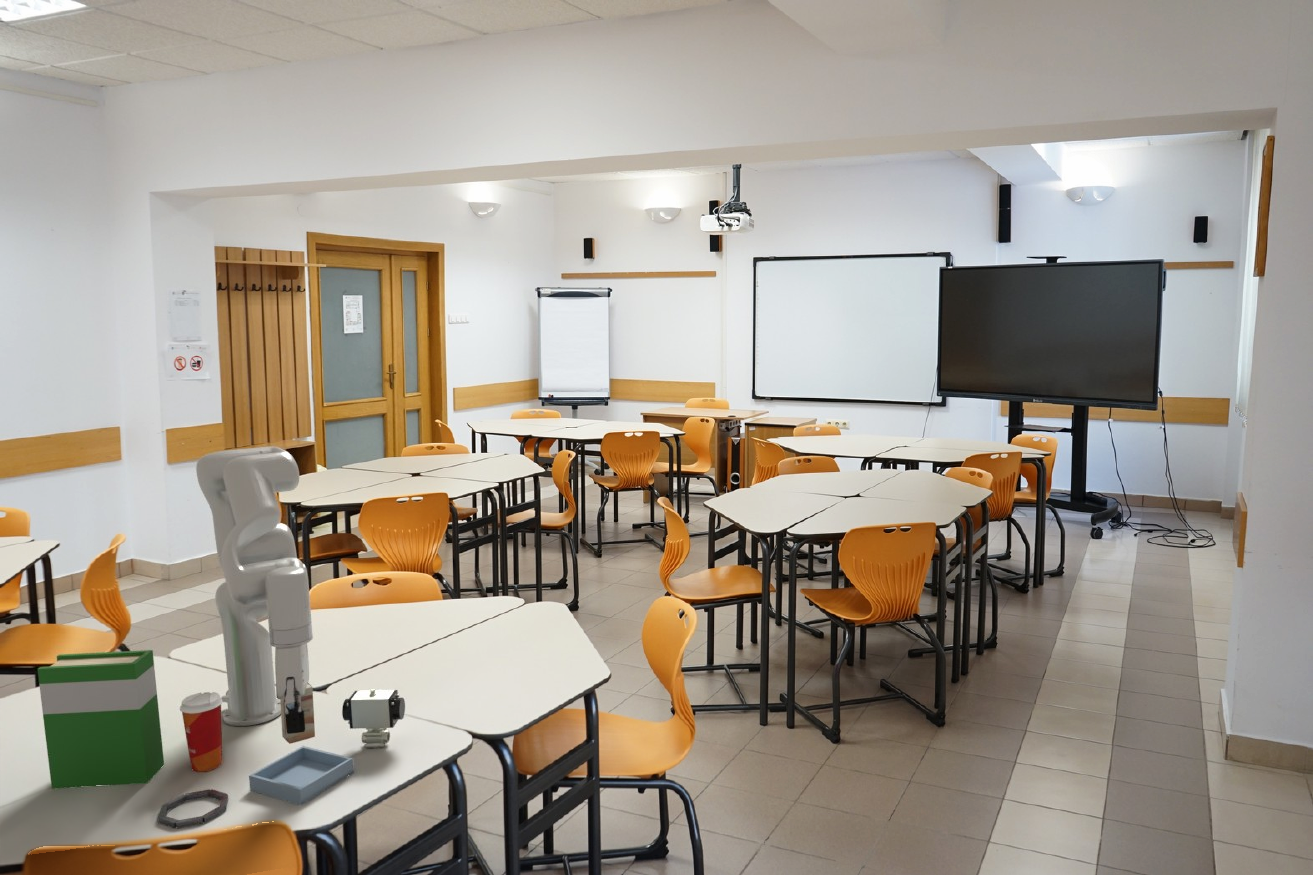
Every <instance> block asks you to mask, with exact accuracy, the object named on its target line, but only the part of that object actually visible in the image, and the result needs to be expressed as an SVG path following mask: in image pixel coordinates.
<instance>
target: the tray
mask: <svg viewBox="0 0 1313 875" xmlns="http://www.w3.org/2000/svg"><path fill="white" fill-rule="evenodd" d="M352 773H353V774H354V773H355V771H354V758H353V757H349V756H345V755H342V754H341V755H340V754H336V753H333V752H330V751H325V750H322V749H318V748H313V747H309V746H305V745H302V746H300V747H299V748H296V749H295V750H293V751H291V752H289V753H288V754H286V755H284V756H282V757H280V758H278V759H277V760H275V761H273V762H271V763H269V764H267V765H265V766H264V767H261V768H260V769H258V770H256V771H255V772H252V773H251V774H249V775H248V779H249V790H250V792H254V793H258V794H262V795H264V796H269V797H272V798H274V799H279V800H281V801H285V802H289V803H292V804H296V805H300V806H302V805H304V804H305V803H308V802H309V801H310V800H312V799H314V798H316V797H317V796H318V795H321V794H322V793H323V792H326V791H327V790H329V789H330V788H332V787H334V786H335V785H336V784H338V783H340V782H341V781H343V780H345V779H346V778H348V777H349V776H348V775H350V776H351V775H352ZM347 776H348V777H347Z"/></svg>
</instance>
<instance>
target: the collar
mask: <svg viewBox="0 0 1313 875" xmlns="http://www.w3.org/2000/svg"><path fill="white" fill-rule="evenodd" d="M204 798H211V799H214V800H218V801H219V802H220V803H219V806H217V807H215V808H213V809H211V810H210V811H208V812H206V813H205V814H203V815H201V816H199V815H198V816H194V817H189V818H182V819H176V818H173V817H170V816H167V815H168V813H169V811H170V810H172V809H174V808H176V807H177V806H179V805H181V804H183V803H185V802H189V801H194V800H199V799H204ZM228 803H229V794H228V793H226V792H222V791H220V790H217V789H210V788H209V789H203V790H197V791H192V792H191V791H190V792H186V793H183V794H180V795H179V796H177V797H175V798H172V799H171V800H170V801H168V802H166V803H164V804H162V805H161V807H160V811H159V814H158V816H157V821H158V822H157V823H158V824H159V825H164V826H165V827H169V828H173V829H181V828H187V827H192V826H199V825H203V824H206V823H208V822H209V821H212V820H213V819H215V818H217V817H218V816H220V815H222V814H224V813H225V812H226V811H227V808H228Z"/></svg>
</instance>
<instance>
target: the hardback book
mask: <svg viewBox="0 0 1313 875" xmlns="http://www.w3.org/2000/svg"><path fill="white" fill-rule="evenodd" d="M154 659H155V658H154V650H152V649H149V650H148V649H147V650H146V649H145V650H129V651H126V650H125V651H109V652H108V651H107V652H105V651H104V652H103V651H102V652H87V653H85V652H84V653H66V654H65V653H63V654H58V655H56V662H54V663H53V664H52V665H50V666H39V667H38V668H37V676H38V683H39V692H40V700H41V709H42V719H43V726H44V734H45V742H46V752H47V761H48V767H49V768H48V769H49V777H50V784H51V789H52V790H53V789H54V790H56V789H55V788H58V789H70V787H75V788H82V787H81V786H93V787H97V786H96V785H110V786H123V785H127V786H128V785H140V784H148V783H149V782H150V781H151V780H152V779H153V778H154V777H155V776H156V775H157V773H158V772H159V771H160V770H161V769H162V768H163V767H164V766H165V760H164V759H165V758H164V749H163V740H162V738H163V737H162V729H161V721H160V720H161V719H160V711H159V710H160V708H159V702H158V701H159V700H158V691H157V680H156V671H155V660H154ZM163 765H164V766H163ZM162 766H163V767H162ZM161 767H162V768H161ZM154 775H155V776H154ZM153 776H154V777H153Z"/></svg>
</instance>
